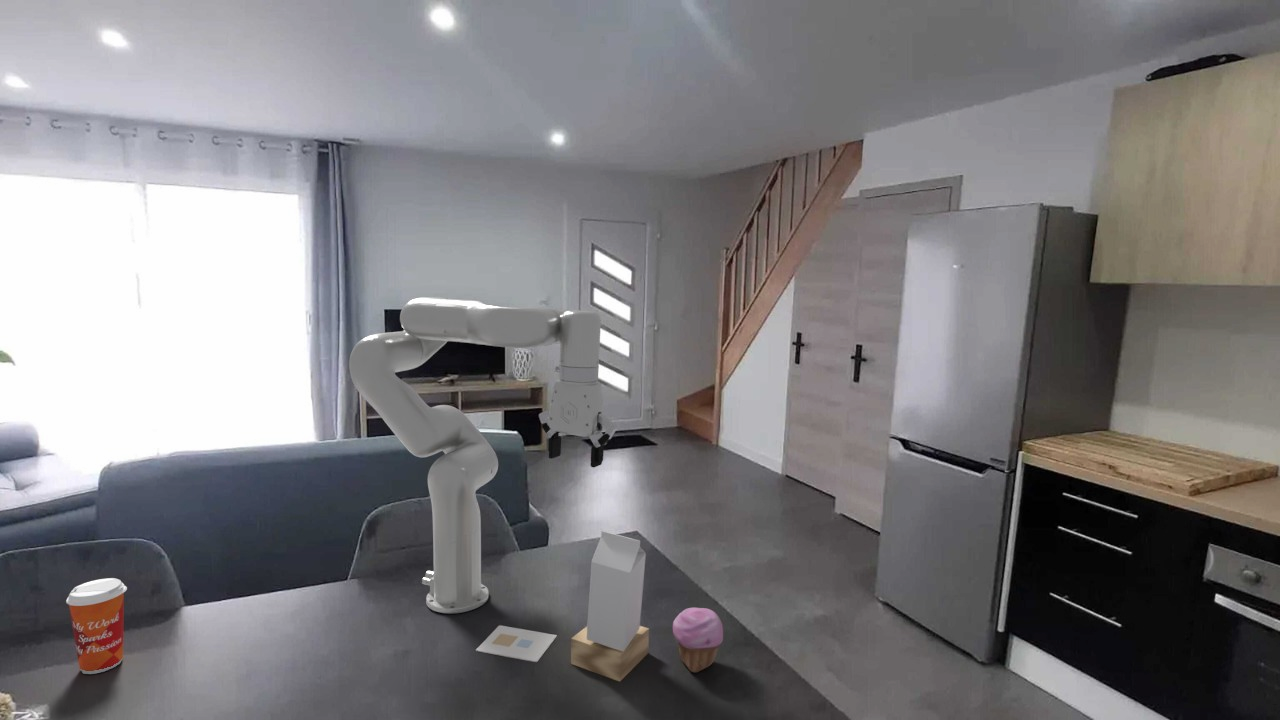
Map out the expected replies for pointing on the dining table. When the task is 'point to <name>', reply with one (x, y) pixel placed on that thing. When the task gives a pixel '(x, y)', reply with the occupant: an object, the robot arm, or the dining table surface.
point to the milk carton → (615, 591)
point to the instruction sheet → (517, 643)
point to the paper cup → (98, 622)
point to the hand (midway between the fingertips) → (575, 461)
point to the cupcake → (698, 637)
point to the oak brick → (609, 654)
